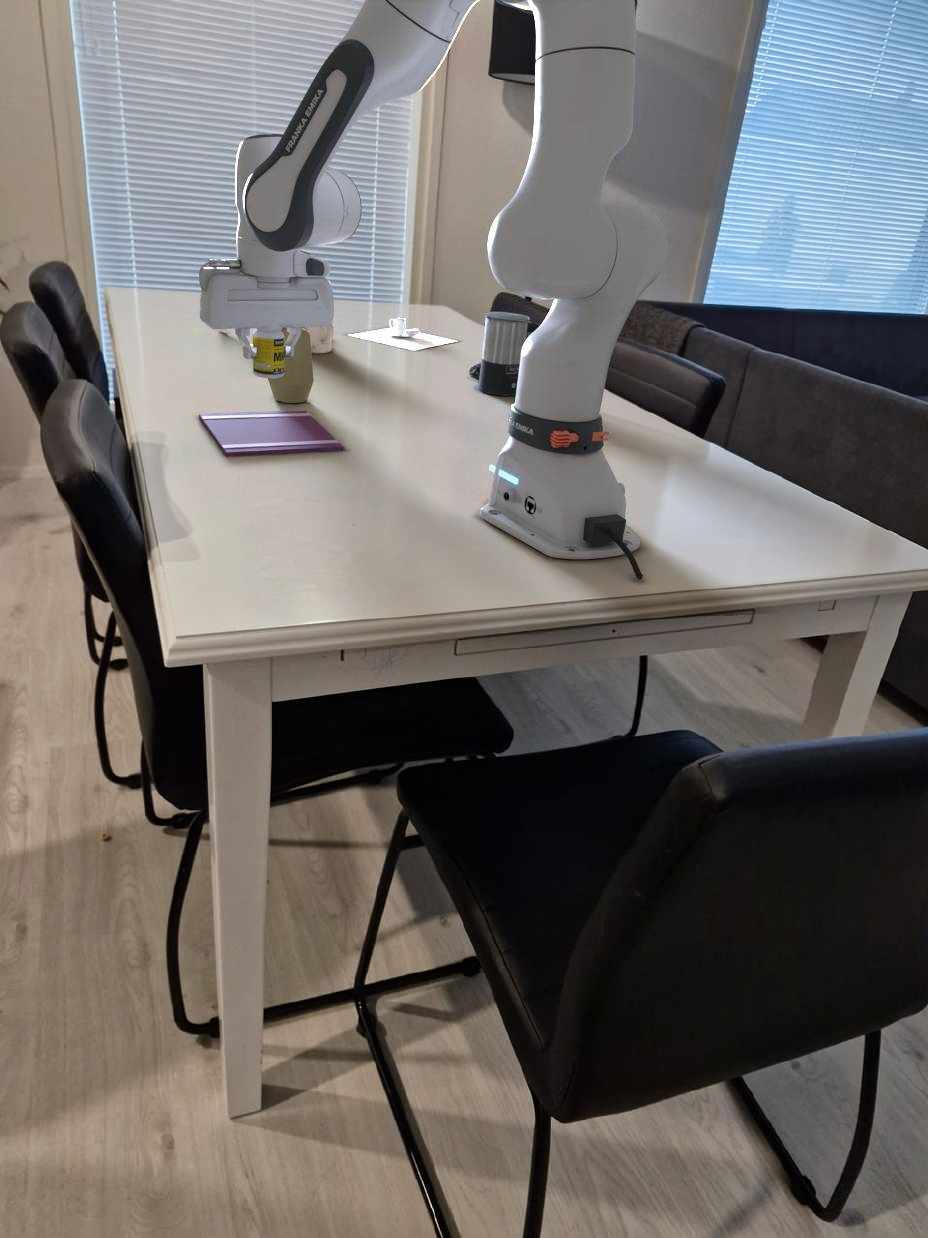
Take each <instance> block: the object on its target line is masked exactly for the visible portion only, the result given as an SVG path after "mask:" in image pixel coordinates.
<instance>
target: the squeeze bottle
mask: <svg viewBox="0 0 928 1238" xmlns="http://www.w3.org/2000/svg"><path fill="white" fill-rule="evenodd" d="M303 328H304V327H301V335H300V337H299V339H298V341H297V343H296V344H295V346H294V356H293V357H284V376H283V377H280V378H267V381H268V384H269V386H270V389H271V392H272V396H273V398H274V400H275V401H278V402H281V403H287V404H300V403H305V402H307V401H308V399H309V396H310V393H311V391H312V390H311V389H312V387H313V384H314V368H313V356H312V354H313V353H311V342H310V333H309V332H308V331H306V330H305V329H303ZM281 332H283V334H284V338H285V340H284V343H285V342H286V340H287V338H288V336H289V334H290V333H289V332H287V327H282V330H281Z"/></svg>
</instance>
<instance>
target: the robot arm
mask: <svg viewBox="0 0 928 1238" xmlns="http://www.w3.org/2000/svg"><path fill="white" fill-rule="evenodd" d="M479 1H480V0H364V1H363V4H362V6H361V8H360V9H359V11H358V13H357V15H356V16H355V18H354V20H353V21H352V22H351V23H352V24H351V25H350V27H349V29H348V30H347V32H346V33H345V34H344V36H343V37H342V39H341V40H340V41H339V42H338V43H337V45H336V46H335V47H334V49H332V51H331V53H330V54H329V55H328V57H327V58H326V59H325V60H324V62H323V63H322V65H321V66H320V68H319V69H318V71H317V73H316V74H315V76H314V78H313V80H312V82H311V83H310V85H309V87H308V89H307V91H306V92H305V94H304V95H303V97H302V99H301V101H300V103H299V105H298V107H297V109H296V111H295V112H294V114H293V115H292V118H291V119H290V121H289V123H288V125H287V127H286V129H285V130H284V132H283V133H281V134H280V133H271V134H270V133H268V134H267V133H264V134H263V133H262V134H261V133H260V134H255V135H250V136H247V137H245V139H243V140H241V142H240V144H239V147H238V149H237V150H238V151H237V154H236V163H235V179H234V180H235V183H234V184H235V185H234V186H235V187H234V188H235V191H234V192H235V205H236V209H237V212H238V225H237V228H236V259H221V260H220V259H215V258H214V259H209V260H208V261H207V262H205V263H204V264H202V266H201V267H200V268H199V272H198V279H199V280H198V281H199V287H200V290H201V291H200V297H199V319H200V321H201V322H202V323H203V325H205V326H206V327H207V328H209V329H212V330H220V329H227V330H232V329H233V330H234V333H235V335H236V338H237V339H238V341H239V343H240V344H241V345H242V355H243V358H244V359H246V360H253V359H256V358H257V354H256V352H257V347H255V346H253V344H251V342H250V340H249V339H248V337H250V336H251V329H257V328H267V327H268V326H269V324H270V322H271V321H278V324H279V326H280V327H287V332H289V333H290V334H289V336H288V338H287V340H286V342H285V343H284V357H293V356H294V346H295V344H296V343H297V341H298V339H299V337H300V335H301V327H318V326H329V325H330V323H331V322H332V320H334V317H335V315H334V314H335V301H334V289H333V286H332V283H331V281H330V280H329V279H328V278H327V277H329V276H330V274H331V265H330V263H329V262H328V261H326V260H325V259H321V258H319V257H316V256H314V255H311V253H309V252H307V251H305V250H301V248H303V247H317V246H325V245H332V244H338V243H341V242H343V241H346V240H348V239H350V238H351V237H352V236H353V235H355V233H356V231H357V229H358V228H359V225H360V222H361V218H362V210H363V209H362V208H363V207H362V198H361V195H360V192H359V189H358V188H357V185H356V184H355V181H353V180H352V179H351V177H349V176H348V175H347V174H345V173H344V172H341V171H339V170H337V169H335V168H333V167H331V166H330V164H331V162H332V160H333V158H334V156H335V155H336V153H337V152H338V150H339V148H340V147H341V145H342V143H343V141H344V140H345V138H346V136H347V135H348V133H349V131H350V130H351V129H352V127H353V126H354V125H355V124H356V123H357V122H358V121H359V120H360V119H361V118H362V117H364V116H365V115H367V114H368V113H370V112H371V111H373V110H375V109H378V108H379V107H381V106H383V105H386V104H388V103H392V102H394V101H397V100H400V99H403V98H407V97H411V96H412V95H414V94H416V93H418V92H420V91H422V90H423V89H424V87H425V86H426V85H427V84H428V83H429V81H430V80H431V79H432V77H433V76H434V75H435V74H436V73H437V71H438V69H439V68H440V66H441V65H442V63H443V61H444V60H445V58H446V56H447V54H448V52H449V50H450V48H451V46H452V45H453V42H454V40H455V38H456V36H457V34H458V32H459V30H460V28H461V26H462V24H463V22H464V20H465V18H466V17H467V15H468V14H469V12H470V10H471V9H472V8H473V6H474V5H475V4H476V3H477V2H479ZM495 1H496V3H498V4H500V5H503V6H506V7H508V8H512V9H514V10H518V11H520V12H521V13H525V14H529V15H533V16H534V21H535V22H534V23H535V84H534V116H533V118H534V119H533V136H532V142H531V149H530V153H529V157H528V161H527V165H526V168H525V171H524V174H523V176H522V179H521V182H520V184H519V186H518V188H517V190H516V192H515V194H514V195H513V197H512V198H511V199H510V201H509V202H508V203H507V204H506V205H505V206H504V207H503V208H502V209H501V210H500V212H499V213H498V214H497V216H496V217H495V219H494V221H493V223H492V225H491V227H490V231H489V234H488V239H487V256H488V257H487V259H488V263H489V266H490V270H491V272H492V275H493V277H494V279H495V280H496V281H497V284H499V285H500V286H501V287H502V288H503V289H505V290H506V291H508V292H511V293H513V294H518V295H520V296H523V297H528V298H532V299H536V300H553V302H552V305H551V307H550V309H549V312H548V313H547V315H546V316H545V319H544V320H543V321H542V323H541V324H540V325H538V326H539V327H538V328H537V329H536V330H535V331H534V332H533V333H532V334H531V335H530V336H529V335H528V337H526V341H525V343H524V345H523V348H522V351H521V358H520V366H519V374H518V382H517V390H516V395H515V398H514V399H515V400H514V403H512V404H511V407H510V412H509V414H508V420H507V421H508V425H507V433H508V434H509V438H508V439H507V442H506V443H505V445H504V447H503V448H502V450H501V451H500V452H499V454H498V456H497V459H496V463H495V465H493V464H489V467H488V470H489V471H491V472H492V473H493V478H492V483H491V487H490V493H489V496H488V497H489V498H488V501H487V502H488V503H487V504H485V505H483V506H481V508H480V511H479V517H480V518H481V519H483V520H484V521H486V522H488V523H489V524H492V525H493V526H495V527H497V528H499V529H501V530H502V531H503V532H505V533H507V534H509V535H511V536H512V537H514V538H515V539H517V540H520V542H523V543H525V544H526V545H528V546H530V547H532V548H533V549H535V550H537V551H539V552H540V553H541V554H543V555H545V556H548V557H550V558H556V559H563V560H595V559H604V558H612V557H617V556H623V555H625V556H626V558H627V560H628V562H629V564H630V566H631V568H632V570H633V572H634V575H635V578H637V580H643V578H644V574H643V573H642V571H641V569H640V567H639V564H638V562H637V559H636V558H635V556H634V555H633V552H635V551H636V550H638V549H639V548H640V546H641V545H640V544H641V539H640V538H639V537H638V535H636V534H635V533H634V532H633V531H632V530H631V528H629V527H628V526H627V525H626V524H627V519H626V514H627V499H626V487H625V485H624V484H623V483H622V482H618V480H617V477H616V476H615V474H614V472H613V470H612V467H611V466H610V463H609V461H608V460H607V458H606V456H605V454H604V451H603V447H604V445H605V444H604V442H605V441H609V438H607V437H606V438H605V437H604V436H608V435H610V431H604V426H603V417H602V415H601V407H602V403H603V398H604V392H605V387H606V381H607V377H608V373H609V366H610V362H611V359H612V355H613V352H614V349H615V346H616V344H617V341H618V339H619V337H620V334H621V332H622V330H623V327H624V325H625V323H626V321H627V319H628V317H629V315H630V314H631V311H632V310H633V308H634V306H635V304H636V303H637V301H638V300H639V298H640V297H641V296H642V294H643V293H644V292H645V291H646V290H647V288H648V287H649V286H651V285H652V284H653V283H654V282H655V281H656V280H657V278H658V277H659V276H660V274H661V273H662V270H663V269H664V267H665V264H666V261H667V257H668V247H669V246H668V237H667V233H666V230H665V227H664V225H663V223H662V221H661V220H660V219H659V217H658V216H656V215H655V214H654V213H652V212H650V211H648V210H647V209H644V208H642V207H640V206H638V205H636V204H634V203H630V202H628V201H623V200H611V199H602V191H603V187H604V183H605V179H606V176H607V172H608V171H609V168H610V166H611V163H612V161H613V159H614V157H615V156H616V155H618V154H619V153H620V152H621V151H622V150H623V149H624V148H625V147H626V146H627V145H628V143H629V141H630V140H631V137H632V135H633V134H632V133H633V129H634V107H635V106H634V105H635V104H634V103H635V85H636V84H635V82H636V80H635V79H636V59H637V58H636V57H637V17H636V2H635V0H495ZM332 323H333V322H332Z"/></svg>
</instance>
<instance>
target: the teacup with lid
mask: <svg viewBox="0 0 928 1238" xmlns="http://www.w3.org/2000/svg"><path fill="white" fill-rule="evenodd" d="M333 320H334V319H333ZM333 320H332V322H331V323H330V325H329V326H318V327H304V328H303V329H305V330H306V331H308V332H309V333H310V342H311V354H327V353H330V352H331V351H332V349H333V337H334V326H333V322H334V321H333Z"/></svg>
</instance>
